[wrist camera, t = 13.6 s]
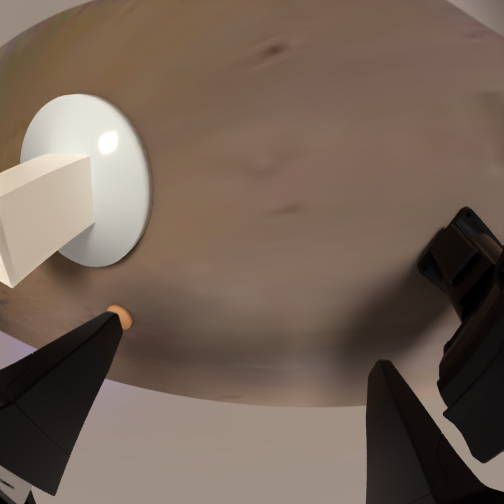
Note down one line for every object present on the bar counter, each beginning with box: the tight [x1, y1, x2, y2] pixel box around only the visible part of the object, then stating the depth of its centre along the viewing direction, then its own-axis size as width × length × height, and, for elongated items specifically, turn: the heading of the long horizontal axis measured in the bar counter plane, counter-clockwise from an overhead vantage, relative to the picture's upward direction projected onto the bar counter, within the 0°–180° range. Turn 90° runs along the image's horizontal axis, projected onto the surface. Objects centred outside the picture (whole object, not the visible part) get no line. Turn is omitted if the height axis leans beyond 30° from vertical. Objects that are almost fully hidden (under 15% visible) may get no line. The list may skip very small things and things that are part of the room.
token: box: [107, 304, 133, 330], centre depth 29 cm, size 3×3×1 cm
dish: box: [20, 93, 153, 267], centre depth 21 cm, size 16×16×2 cm
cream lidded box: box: [0, 154, 95, 288], centre depth 16 cm, size 6×6×10 cm
